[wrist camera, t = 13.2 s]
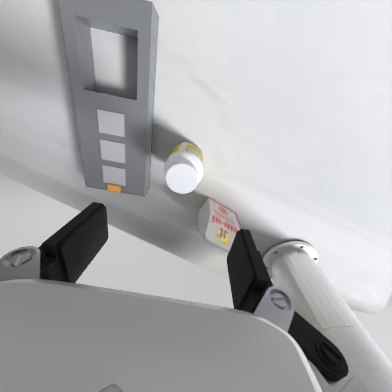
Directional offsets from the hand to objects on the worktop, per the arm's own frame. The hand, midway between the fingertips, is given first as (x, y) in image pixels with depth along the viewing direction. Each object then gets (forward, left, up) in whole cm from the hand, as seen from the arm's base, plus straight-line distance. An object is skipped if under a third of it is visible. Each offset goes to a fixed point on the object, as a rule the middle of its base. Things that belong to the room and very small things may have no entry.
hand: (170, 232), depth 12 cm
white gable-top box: (-10, -8, -19) cm, 23 cm away
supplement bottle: (0, 0, -19) cm, 19 cm away
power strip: (+5, +11, -19) cm, 23 cm away
